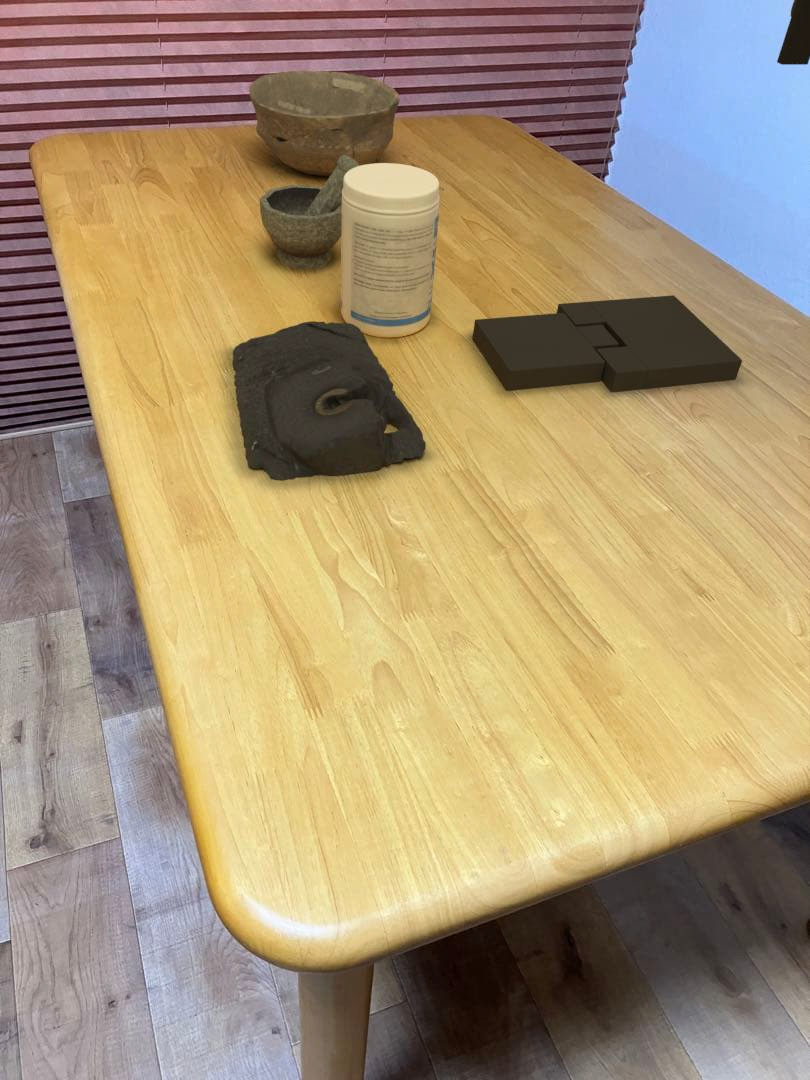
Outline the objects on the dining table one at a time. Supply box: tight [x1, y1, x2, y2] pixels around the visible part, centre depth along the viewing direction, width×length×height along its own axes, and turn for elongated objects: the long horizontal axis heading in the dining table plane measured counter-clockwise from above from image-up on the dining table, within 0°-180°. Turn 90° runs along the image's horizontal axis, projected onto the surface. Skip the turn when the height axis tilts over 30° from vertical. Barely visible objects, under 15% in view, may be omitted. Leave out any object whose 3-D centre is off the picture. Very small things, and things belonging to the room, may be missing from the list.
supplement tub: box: [340, 162, 441, 339], centre depth 88 cm, size 10×10×15 cm
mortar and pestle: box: [259, 155, 360, 270], centre depth 98 cm, size 11×9×12 cm
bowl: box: [248, 69, 401, 177], centre depth 122 cm, size 21×21×10 cm
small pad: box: [471, 312, 619, 392], centre depth 88 cm, size 13×10×2 cm
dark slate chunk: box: [232, 320, 427, 482], centre depth 78 cm, size 15×22×5 cm
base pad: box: [556, 294, 743, 393], centre depth 91 cm, size 14×14×2 cm
